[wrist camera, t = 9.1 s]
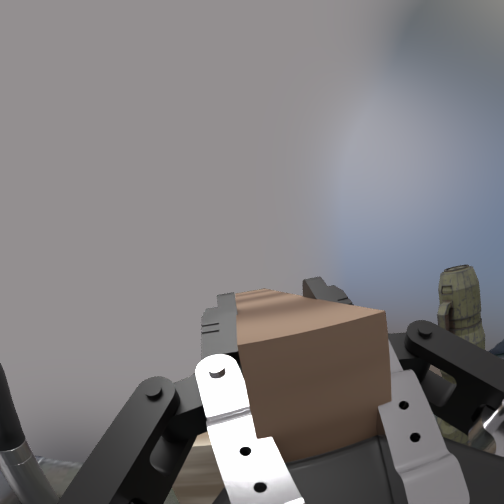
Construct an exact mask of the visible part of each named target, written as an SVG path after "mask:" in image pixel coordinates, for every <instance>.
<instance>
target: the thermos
mask: <svg viewBox="0 0 504 504" xmlns="http://www.w3.org/2000/svg"><path fill="white" fill-rule="evenodd" d="M438 291H439V300H440V305H439V309H438V314H437V318H438V326H440V327H441V328H443V329H445V330H447V331H449V332H451V333H453V334H455V335H457V336H459V337H461V338H463V339H465V340H467V341H468V342H470V343H472V344H474V345H476V346H478V347H480V348H482V349H484V350H485V334H484V330H483V327H482V319H481V316H480V312H481V301H480V289H479V281H478V278H477V276H476V274H475V271H474V269H473V267H472V266H469V265H460V266H456V267H451V268H448V269H445V270H444V272H442V273H441V275H440V281H439V289H438ZM440 372H441V374H442V378H444V379H445V380H447V381H449V382H451V383H452V384H456V380H455V379H454V378H453V377H452V376H450V375H449V374H447V373H445V372H443V371H442V370H440ZM437 424H438V427H439V429H440V432H441V435H442V436H443V437H445V438H448V439H451V440H453V441H456V442H459V443H462V444H464V445H467V446H468V442H469V437H468V436H467V435H466V434H464V433H463V432H461V431H459V430H458V429H456V428H455V427H453V426H451V425H450V424H448V423H447V422H445V421H444V420H442V419H440V418H439V417H438V418H437Z"/></svg>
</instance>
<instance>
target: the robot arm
mask: <svg viewBox="0 0 504 504" xmlns="http://www.w3.org/2000/svg"><path fill="white" fill-rule="evenodd" d="M303 297H307V298H312V299H320V300H326V301H331V302H337V303H342V304H348V305H353V304H352V302H351V300H350V299H348V297H347V296H346V294H345V293H344V291H343V290H341V289H339V288H338V287H336V286H334V285H332V286H327V285H326V283H325V282H324V281H323V279H322V278H321V277H315V278H310V279H305V280H303ZM217 303H218V307H215V308H208V309H206V311H205V312H204V314H203V316H202V324H201V326H202V328H201V330H202V331H201V333H202V334H201V337H202V339H201V343H202V344H201V349H202V350H201V352H202V353H201V358H202V360H201V362H200V363H199V364H198V366H197V368H196V372H195V373H194V374H193V375H191V376H190V377H188V378H186V379H183V380H180V381H178V382H175V383H172V381H170V380H169V379H167V378H165V377H151V378H148V379H146V380H145V381H143V382H142V383H140V384H139V386H138V387H137V388H136V390H135V391H134V393H133V394H132V396H131V397H130V398H129V400H128V401H127V402H126V404H125V405H124V407H123V408H122V410H121V411H120V412H119V414H118V415H117V417H116V418H115V419H114V421H113V422H112V424H111V425H110V427H109V428H108V429H107V431H106V433H105V434H104V435H103V437H102V438H101V440H100V441H99V442H98V444H97V445H96V447H95V448H94V450H93V451H92V453H91V454H90V456H89V457H88V459H87V460H86V461H85V463H84V464H83V466H82V467H81V469H80V470H79V472H78V473H77V475H76V476H75V478H74V479H73V480H72V482H71V483H70V485H69V486H68V488H67V489H66V491H65V492H64V494H63V495H62V497H61V498H60V499H59V497H58V496H57V494H56V493H55V491H54V490H53V488H52V486H51V485H50V483H49V481H48V480H47V478H46V476H45V475H44V473H43V471H42V469H41V467H40V466H39V464H38V462H37V460H36V458H35V456H34V454H33V452H32V450H31V448H30V446H29V444H28V442H27V440H26V438H25V435H24V433H23V431H22V428H21V425H20V421H19V419H18V415H17V413H16V410H15V407H14V404H13V401H12V397H11V394H10V390H9V387H8V383H7V379H6V376H5V373H4V370H3V368H2V365H1V364H0V470H1V472H2V473H3V475H4V477H5V479H6V480H7V482H8V483H9V485H10V487H11V488H12V490H13V491H14V493H15V494H16V496H17V497H18V499H19V500H20V502H21V503H22V504H163V503H164V501H165V499H166V497H167V496H168V494H169V492H170V490H171V488H172V486H173V484H174V482H175V480H176V478H177V476H178V474H179V472H180V470H181V468H182V466H183V464H184V462H185V460H186V458H187V456H188V454H189V452H190V450H191V448H192V446H193V444H194V442H195V440H196V438H197V435H200V434H203V433H205V432H208V433H209V436H210V440H211V443H212V447H213V450H214V453H215V457H216V460H217V463H218V466H219V469H220V472H221V476H222V479H223V482H224V485H225V487H224V488H223V489H222V491H221V492H220V493H219V495H218V496H217V497H216V499H215V500H214V502H213V503H212V504H504V360H503V359H501V358H499V357H497V356H495V355H493V354H491V353H489V352H488V351H486V350H484V349H482V348H480V347H478V346H476V345H474V344H472V343H470V342H468V341H467V340H465V339H463V338H461V337H459V336H457V335H455V334H453V333H451V332H449V331H447V330H445V329H443V328H441V327H440V326H438V325H436V324H433V323H432V322H429V321H425V320H419V321H415V322H413V323H411V324H410V325H409V326H408V328H407V332H406V333H396V334H395V333H394V334H388V341H389V354H390V370H391V397H392V401H390V402H388V403H385V404H383V405H380V406H378V408H377V422H376V429H377V433H378V435H376V436H373V437H371V438H368V439H365V440H363V441H360V442H357V443H354V444H351V445H348V446H345V447H342V448H339V449H336V450H333V451H330V452H326V453H323V454H319V455H315V456H312V457H308V458H304V459H300V460H296V461H291V462H287V463H284V461H283V459H282V457H281V455H280V453H279V451H278V449H277V447H276V445H275V443H274V441H273V438H272V437H268V438H263V439H257V438H256V434H255V429H254V425H253V420H252V415H251V411H250V406H249V401H248V397H247V392H246V387H245V382H244V377H243V372H242V367H241V362H240V357H239V352H238V347H237V328H236V315H238V313H237V306H236V300H235V295H234V293H227V294H222V295H217ZM353 306H354V305H353ZM430 365H433V366H435V367H437V368H438V369H440V370H442V371H443V372H445V373H447V374H449V375H450V376H452V377H453V378H454V379H455V380H456V384H452V383H451V382H449V381H447V380H445V379H444V378H442V377H440V376H439V375H437V374H435V373H434V372H432V371H430V370H429V367H430ZM433 414H434V415H436V416H437V417H439V418H440V419H442V420H444V421H445V422H447V423H448V424H450V425H451V426H453V427H455V428H456V429H458V430H459V431H461V432H463V433H464V434H466V435H467V436H468V437H469V442H468V446H467V445H464V444H462V443H459V442H456V441H453V440H451V439H448V438H445V437H443V436H442V435H441V432H440V429H439V427H438V424H437V422H436V420H435V417H434V415H433Z"/></svg>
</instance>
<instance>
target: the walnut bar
mask: <svg viewBox="0 0 504 504" xmlns="http://www.w3.org/2000/svg"><path fill="white" fill-rule="evenodd" d="M235 300H236V306H237V313H238V315H236V328H237V347H238V352H239V357H240V362H241V367H242V372H243V377H244V382H245V387H246V392H247V397H248V401H249V406H250V411H251V415H252V420H253V425H254V429H255V434H256V438H257V439H263V438H268V437H272V438H273V441H274V443H275V445H276V447H277V449H278V451H279V453H280V455H281V457H282V459H283V461H284V463H287V462H291V461H296V460H300V459H304V458H308V457H312V456H315V455H319V454H323V453H326V452H330V451H333V450H336V449H339V448H342V447H345V446H348V445H351V444H354V443H357V442H360V441H363V440H365V439H368V438H371V437H373V436H376V435H378V433H377V429H376V422H377V408H378V406H380V405H383V404H385V403H388V402H390V401H392V397H391V370H390V354H389V341H388V331H387V321H386V313H385V311H383V310H376V309H371V308H365V307H359V306H353V305H348V304H342V303H337V302H331V301H326V300H320V299H312V298H307V297H303V296H299V295H294V294H289V293H284V292H279V291H274V290H269V289H259V290H253V291H247V292H242V293H236V294H235Z"/></svg>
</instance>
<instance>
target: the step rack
mask: <svg viewBox="0 0 504 504" xmlns="http://www.w3.org/2000/svg"><path fill="white" fill-rule="evenodd" d="M224 487H225V485H224V482H223V479H222V476H221V472H220V469H219V466H218V463H217V460H216V457H215V453H214V450H213V447H212V443H211V440H210V436H209V433H208V432H205V433H203V434H200V435H197V438H196V440H195V442H194V444H193V446H192V448H191V450H190V452H189V454H188V456H187V458H186V460H185V462H184V464H183V466H182V468H181V470H180V472H179V474H178V476H177V478H176V480H175V482H174V484H173V486H172V488H173V491H174V493H175V495H176V497H177V499H178V501H179V503H180V504H212V503H213V502H214V500H215V499H216V497H217V496H218V495H219V493H220V492H221V491H222V489H223V488H224Z"/></svg>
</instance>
